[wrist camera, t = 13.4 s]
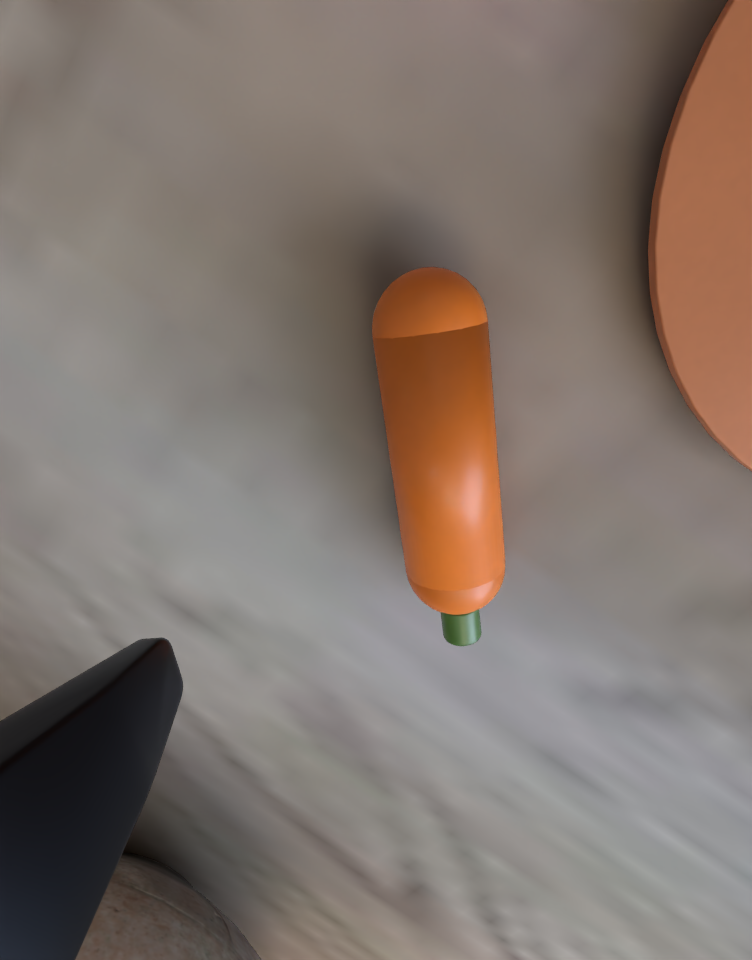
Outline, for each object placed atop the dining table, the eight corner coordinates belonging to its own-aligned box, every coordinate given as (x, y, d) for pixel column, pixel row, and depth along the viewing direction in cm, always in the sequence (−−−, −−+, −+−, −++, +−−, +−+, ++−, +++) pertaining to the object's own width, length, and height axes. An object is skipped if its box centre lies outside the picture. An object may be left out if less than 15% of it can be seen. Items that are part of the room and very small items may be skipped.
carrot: (373, 276, 15) (353, 277, 12) (481, 259, 15) (485, 256, 12) (419, 609, 19) (412, 667, 16) (506, 606, 18) (514, 666, 16)
